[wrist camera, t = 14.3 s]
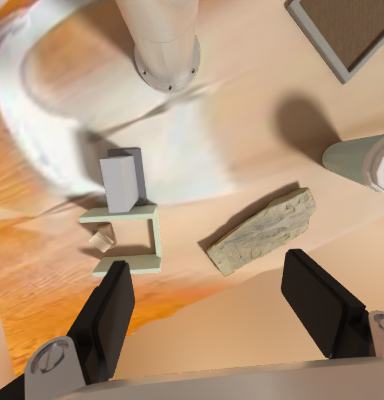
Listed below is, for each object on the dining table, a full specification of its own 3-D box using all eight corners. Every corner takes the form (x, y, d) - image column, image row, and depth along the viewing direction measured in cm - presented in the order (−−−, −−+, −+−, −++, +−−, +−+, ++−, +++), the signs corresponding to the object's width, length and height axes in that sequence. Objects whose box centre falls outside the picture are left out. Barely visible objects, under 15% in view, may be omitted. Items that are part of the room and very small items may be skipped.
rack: (92, 208, 43) (78, 217, 37) (157, 204, 44) (153, 213, 38) (103, 261, 48) (93, 276, 42) (162, 257, 48) (160, 272, 43)
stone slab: (327, 221, 45) (228, 284, 48) (314, 215, 49) (224, 273, 52) (307, 182, 41) (202, 253, 44) (296, 179, 45) (200, 244, 48)
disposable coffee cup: (362, 156, 43) (453, 162, 29) (326, 188, 45) (393, 208, 31) (340, 124, 40) (426, 112, 26) (302, 158, 42) (363, 166, 28)
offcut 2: (92, 236, 42) (88, 241, 41) (99, 230, 42) (95, 234, 40) (107, 248, 44) (103, 253, 42) (114, 241, 43) (110, 246, 41)
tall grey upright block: (117, 156, 39) (99, 159, 31) (133, 155, 40) (119, 158, 31) (124, 199, 42) (109, 213, 34) (138, 198, 42) (128, 211, 34)
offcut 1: (98, 224, 45) (93, 230, 42) (111, 222, 45) (106, 227, 42) (105, 243, 46) (100, 250, 44) (117, 241, 47) (113, 248, 44)
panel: (108, 150, 39) (107, 150, 39) (140, 148, 40) (139, 148, 39) (118, 205, 43) (117, 205, 43) (147, 203, 44) (146, 204, 43)
